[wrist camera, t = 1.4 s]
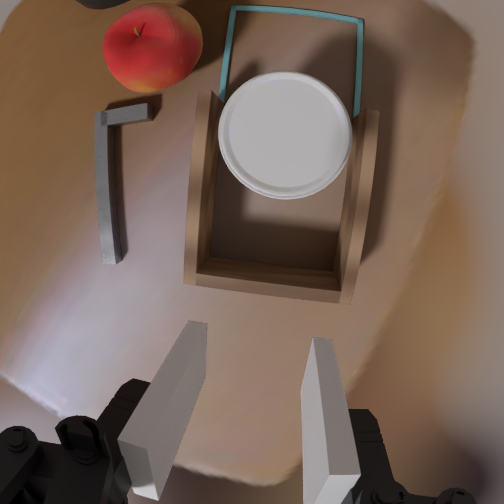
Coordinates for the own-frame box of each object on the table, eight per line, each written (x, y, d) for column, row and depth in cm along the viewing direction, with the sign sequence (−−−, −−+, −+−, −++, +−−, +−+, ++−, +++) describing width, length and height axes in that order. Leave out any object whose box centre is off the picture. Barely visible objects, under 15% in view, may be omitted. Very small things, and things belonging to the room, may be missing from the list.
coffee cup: (277, 85, 30) (274, 43, 18) (347, 141, 31) (380, 127, 19) (221, 152, 32) (188, 143, 21) (290, 208, 33) (294, 228, 21)
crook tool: (102, 114, 32) (94, 112, 31) (153, 105, 32) (147, 103, 30) (110, 259, 37) (103, 264, 35) (160, 260, 36) (154, 265, 34)
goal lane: (231, 7, 28) (231, 5, 27) (362, 21, 27) (363, 19, 26) (218, 103, 31) (217, 102, 30) (358, 119, 30) (359, 118, 29)
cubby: (213, 103, 31) (198, 90, 25) (363, 120, 30) (379, 110, 24) (199, 265, 36) (183, 283, 30) (340, 283, 34) (350, 304, 29)
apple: (205, 102, 31) (175, 77, 21) (127, 101, 32) (79, 84, 22) (218, 26, 28) (195, -18, 19) (141, 30, 29) (101, -4, 19)
